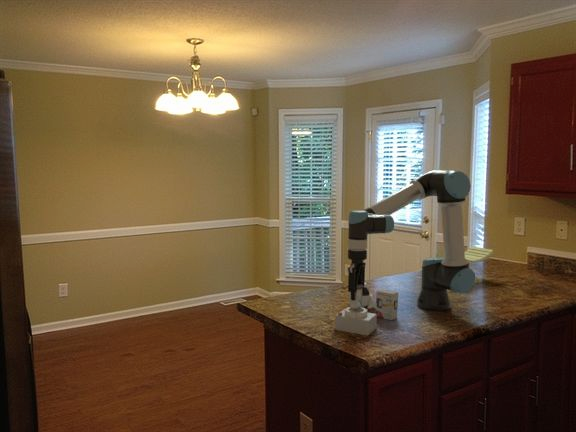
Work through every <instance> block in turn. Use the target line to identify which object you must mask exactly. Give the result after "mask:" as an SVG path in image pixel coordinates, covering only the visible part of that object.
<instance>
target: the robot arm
mask: <svg viewBox="0 0 576 432" xmlns="http://www.w3.org/2000/svg"><path fill="white" fill-rule="evenodd" d="M471 186H472V185H471V181H470V178H469V176H468V175H467V174H466V173H465V172H464V171H460V170H455V169H442V170H441V169H435V170H431V171H427V172H426V173H424V174H421V175H419V176H418V177H416V178H414V179H412V180H411V181H409V184H408V185H406V186H405V187H403V188H401V189H398V190H397V191H395V192H393V193H392V194H391V195H388V196H387V197H385V198H383V199H381V200H380V201H378V202H376V203H374V204H373V205H371V206H368V207H367V208H364V209H363V210H351V211H350V212H349V214H348V231H347V233H348V235H347V236H348V239H347V243H348V244H347V245H348V246H347V248H348V250H347V259H348V260H350V261H351V264H350V266H349V267H347V272H348V274H347V275H348V276H347V277H348V281H347V283H348V284H347V285H348V287H347V288H348V289H347V292H348V293H349V292H351V293H350V304H349V307H350V308H357V295H358V292H357V283H359V284H362V285H363V286H364V283H365V278H366V277H365V276H366V273H365V272H366V262H365V261H366V260H367V258H368V257H367V256H368V251H367V249H368V235H374V234H375V235H377V234H379V235H380V234H390V233H392V232H393V231H394V229H395V219H394V218H393V216H392V215H393V214H394V213H397V212H398V211H399V210H400V211H401V209H404V208H405V207H406V206H408V205H410V204H412V203H413V202H415V201H417V200H423V199H425V198H428V197H436V201H437V204H438V205H440V207H441V209H440V210H441V223H442V224H441V225H442V239H443V240H442V241H443V242H442V243H443V252H444V258H436V257H430V258H428V257H427V258H424V259H423V260H422V263H421V264H422V265H421V288H420V291H419V294H418V297H417V299H416V305H417V307H419V308H421V309H424V310H427V311H428V310H430V311H446V310H450V308H451V301H450V300H451V299H450V296H449V293H448V291H450V292H453V293H457V294H465V293H467V292H469V291H470V290H471V289H472V287H474V284H476V283H475V277H476V274H475V272H474V271H473V269H471V268H470V263H469V261H468V260H467V259H466V258H465V237H464V221H463V220H464V218H463V217H464V216H463V204H464V203H465V202H466V198H467V196H468V195H469V192H471ZM363 286H362V289H364V288H365V287H363Z"/></svg>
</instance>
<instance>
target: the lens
mask: <svg viewBox="0 0 576 432" xmlns="http://www.w3.org/2000/svg"><path fill="white" fill-rule="evenodd" d="M362 286H363V285H362V284H359V283H357V292H358V295H357V308H350V309H351V310H361V309H362Z"/></svg>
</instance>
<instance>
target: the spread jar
mask: <svg viewBox="0 0 576 432" xmlns="http://www.w3.org/2000/svg"><path fill="white" fill-rule="evenodd" d="M363 287H365V288H364V289H362V308H365V309H367V308H368V307H369V306H370V304H371V306H372V308H373V309H375V310H376V300H375V299H374V296H373V294H372V293H370V291H369V288H368V283H367V282H365V283H364V286H363ZM350 293H351V292H348V302H349V305H350Z"/></svg>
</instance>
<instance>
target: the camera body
mask: <svg viewBox="0 0 576 432" xmlns="http://www.w3.org/2000/svg"><path fill="white" fill-rule="evenodd" d="M368 310H369V309H367V308H366V309H365V308H362V309H361V310H351V309H350V306H348V307H346V308H344V309H343V310H341V311H339V312H338V313H337V314H335V315H334V330H335V331H340V332H347V333H352V334H355V335H356V334H358V335H362V336H369V335H371V334H372V333H373V332H374V331H375V330H376V329H377V319H378V317H377V314H375V313H373V312H372V313H371V312H368Z"/></svg>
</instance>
